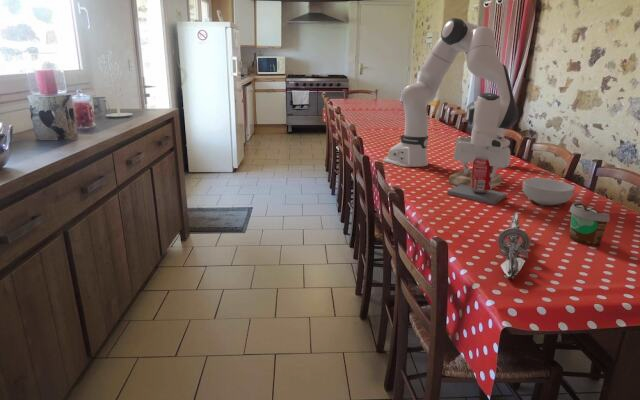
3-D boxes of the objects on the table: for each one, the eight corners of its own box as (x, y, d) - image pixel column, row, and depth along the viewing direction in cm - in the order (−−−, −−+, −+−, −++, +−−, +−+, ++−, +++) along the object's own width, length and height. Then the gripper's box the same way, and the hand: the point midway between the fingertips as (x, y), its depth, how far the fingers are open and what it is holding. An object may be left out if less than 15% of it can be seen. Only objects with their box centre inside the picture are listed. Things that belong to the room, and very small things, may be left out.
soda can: (491, 193, 160) (496, 159, 156) (471, 192, 161) (476, 158, 157) (487, 188, 167) (492, 155, 162) (468, 187, 168) (472, 154, 163)
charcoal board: (447, 194, 166) (447, 190, 166) (460, 187, 175) (460, 184, 174) (494, 204, 155) (494, 200, 154) (505, 197, 164) (506, 193, 163)
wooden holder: (448, 183, 180) (449, 175, 179) (464, 176, 191) (465, 168, 190) (486, 191, 170) (487, 183, 169) (500, 183, 181) (502, 175, 180)
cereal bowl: (550, 212, 148) (554, 193, 145) (510, 199, 162) (513, 180, 159) (581, 205, 155) (585, 186, 153) (540, 193, 169) (543, 175, 167)
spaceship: (535, 209, 126) (509, 197, 128) (538, 272, 97) (505, 254, 99) (520, 230, 130) (495, 217, 132) (518, 295, 101) (487, 278, 103)
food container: (555, 231, 131) (561, 200, 128) (574, 231, 132) (581, 200, 128) (582, 248, 119) (589, 215, 116) (603, 248, 120) (611, 214, 117)
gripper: (453, 136, 162) (449, 172, 167) (508, 144, 149) (502, 182, 154) (460, 134, 167) (456, 169, 171) (514, 141, 154) (508, 178, 158)
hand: (478, 175), depth 162 cm, fingers open, 8 cm apart
